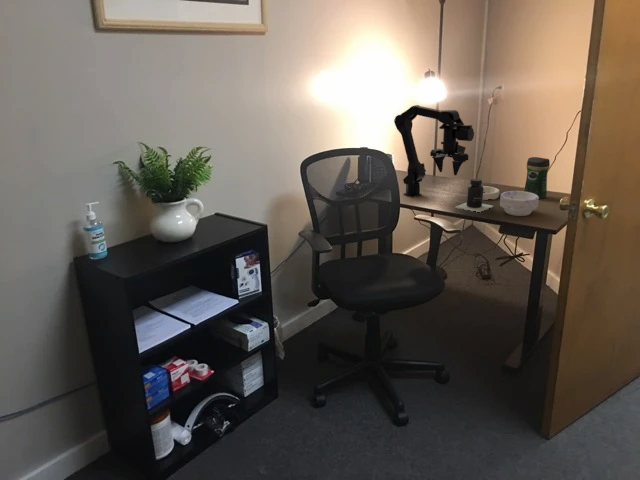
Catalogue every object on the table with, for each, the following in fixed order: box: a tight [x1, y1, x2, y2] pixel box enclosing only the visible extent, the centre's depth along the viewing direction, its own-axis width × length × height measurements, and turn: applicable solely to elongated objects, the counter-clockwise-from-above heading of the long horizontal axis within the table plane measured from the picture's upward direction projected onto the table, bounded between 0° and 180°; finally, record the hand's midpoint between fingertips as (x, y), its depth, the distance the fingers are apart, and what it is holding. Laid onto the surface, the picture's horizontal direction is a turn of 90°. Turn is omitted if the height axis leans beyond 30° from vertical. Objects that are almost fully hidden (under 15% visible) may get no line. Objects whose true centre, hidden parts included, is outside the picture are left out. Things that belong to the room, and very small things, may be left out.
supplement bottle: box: [465, 178, 484, 208], centre depth 231 cm, size 7×7×12 cm
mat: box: [454, 201, 494, 213], centre depth 232 cm, size 12×12×1 cm
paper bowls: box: [499, 190, 540, 217], centre depth 221 cm, size 15×15×8 cm
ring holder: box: [482, 185, 500, 201], centre depth 250 cm, size 14×14×3 cm
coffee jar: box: [523, 156, 551, 200], centre depth 242 cm, size 10×8×19 cm
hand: (448, 173), depth 239 cm, fingers open, 9 cm apart
